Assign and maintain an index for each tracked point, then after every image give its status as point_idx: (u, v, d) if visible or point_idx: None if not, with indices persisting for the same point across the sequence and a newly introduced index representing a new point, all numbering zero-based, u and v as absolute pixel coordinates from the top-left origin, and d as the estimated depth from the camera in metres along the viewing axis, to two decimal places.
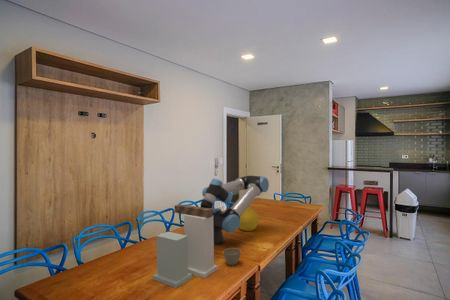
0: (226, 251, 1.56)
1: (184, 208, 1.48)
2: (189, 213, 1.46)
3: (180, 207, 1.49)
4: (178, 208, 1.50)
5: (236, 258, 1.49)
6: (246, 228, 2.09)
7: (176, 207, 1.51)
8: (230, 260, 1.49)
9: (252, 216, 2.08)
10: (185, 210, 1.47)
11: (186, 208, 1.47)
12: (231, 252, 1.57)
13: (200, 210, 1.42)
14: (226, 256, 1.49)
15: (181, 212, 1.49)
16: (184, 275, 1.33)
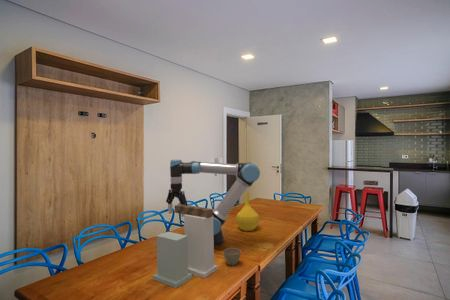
0: (226, 251, 1.56)
1: (184, 208, 1.48)
2: (189, 213, 1.46)
3: (180, 207, 1.49)
4: (178, 208, 1.50)
5: (236, 258, 1.49)
6: (246, 228, 2.09)
7: (176, 207, 1.51)
8: (230, 260, 1.49)
9: (252, 216, 2.08)
10: (185, 210, 1.47)
11: (186, 208, 1.47)
12: (231, 252, 1.57)
13: (200, 210, 1.42)
14: (226, 256, 1.49)
15: (181, 212, 1.49)
16: (184, 275, 1.33)
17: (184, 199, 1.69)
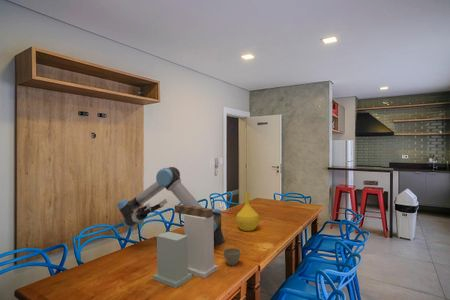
0: (226, 251, 1.56)
1: (184, 208, 1.48)
2: (189, 213, 1.46)
3: (180, 207, 1.49)
4: (178, 208, 1.50)
5: (236, 258, 1.49)
6: (246, 228, 2.09)
7: (176, 207, 1.51)
8: (230, 260, 1.49)
9: (252, 216, 2.08)
10: (185, 210, 1.47)
11: (186, 208, 1.47)
12: (231, 252, 1.57)
13: (200, 210, 1.42)
14: (226, 256, 1.49)
15: (181, 212, 1.49)
16: (184, 275, 1.33)
17: (137, 212, 1.70)
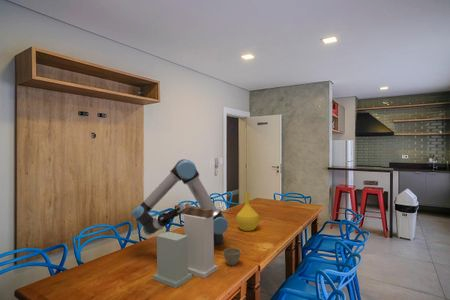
0: (226, 251, 1.56)
1: None
2: (189, 213, 1.46)
3: None
4: None
5: (236, 258, 1.49)
6: (246, 228, 2.09)
7: (176, 207, 1.51)
8: (230, 260, 1.49)
9: (252, 216, 2.08)
10: (185, 210, 1.47)
11: (186, 208, 1.47)
12: (231, 252, 1.57)
13: (200, 210, 1.42)
14: (226, 256, 1.49)
15: (181, 212, 1.49)
16: (184, 275, 1.33)
17: (167, 215, 1.50)
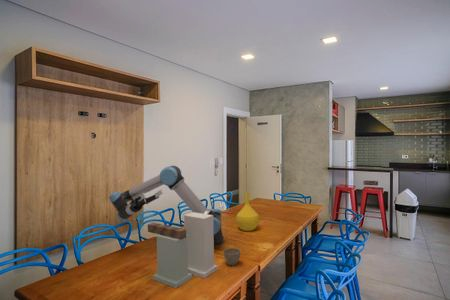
0: (226, 251, 1.56)
1: (157, 228, 1.39)
2: (162, 233, 1.37)
3: (153, 226, 1.40)
4: (151, 227, 1.41)
5: (236, 258, 1.49)
6: (246, 228, 2.09)
7: (149, 226, 1.42)
8: (230, 260, 1.49)
9: (252, 216, 2.08)
10: (158, 230, 1.38)
11: (159, 228, 1.38)
12: (231, 252, 1.57)
13: (173, 231, 1.32)
14: (226, 256, 1.49)
15: (154, 232, 1.40)
16: (184, 275, 1.33)
17: (131, 203, 1.60)
